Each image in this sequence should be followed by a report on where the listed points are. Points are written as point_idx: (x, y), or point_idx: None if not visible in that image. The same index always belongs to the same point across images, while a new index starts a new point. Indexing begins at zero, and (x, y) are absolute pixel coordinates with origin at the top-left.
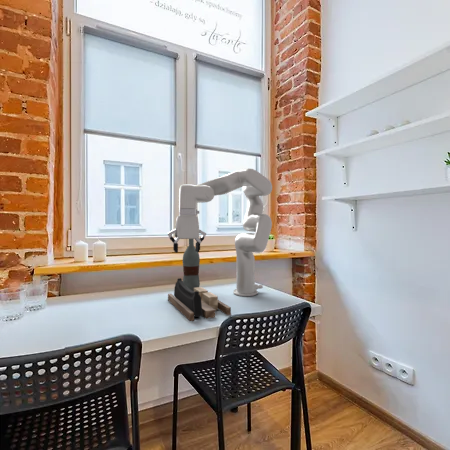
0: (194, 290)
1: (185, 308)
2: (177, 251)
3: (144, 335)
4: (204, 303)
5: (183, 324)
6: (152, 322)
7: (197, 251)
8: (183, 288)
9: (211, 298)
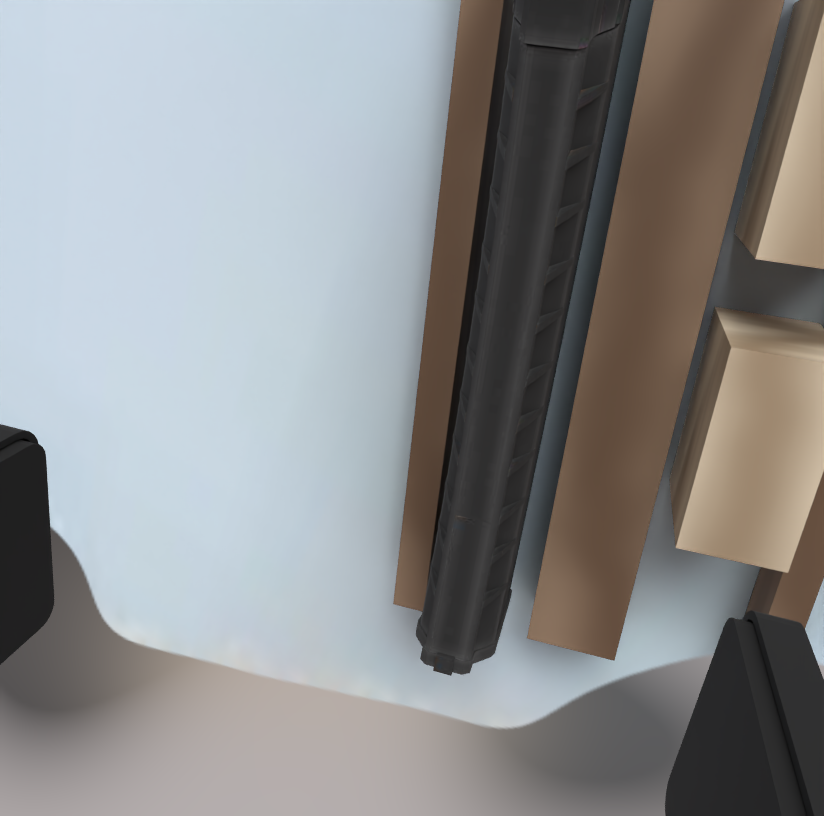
0: (815, 21)
1: (413, 483)
2: (23, 636)
3: (102, 584)
4: (648, 464)
5: (345, 586)
6: (176, 431)
7: (670, 792)
8: (489, 270)
9: (703, 547)
